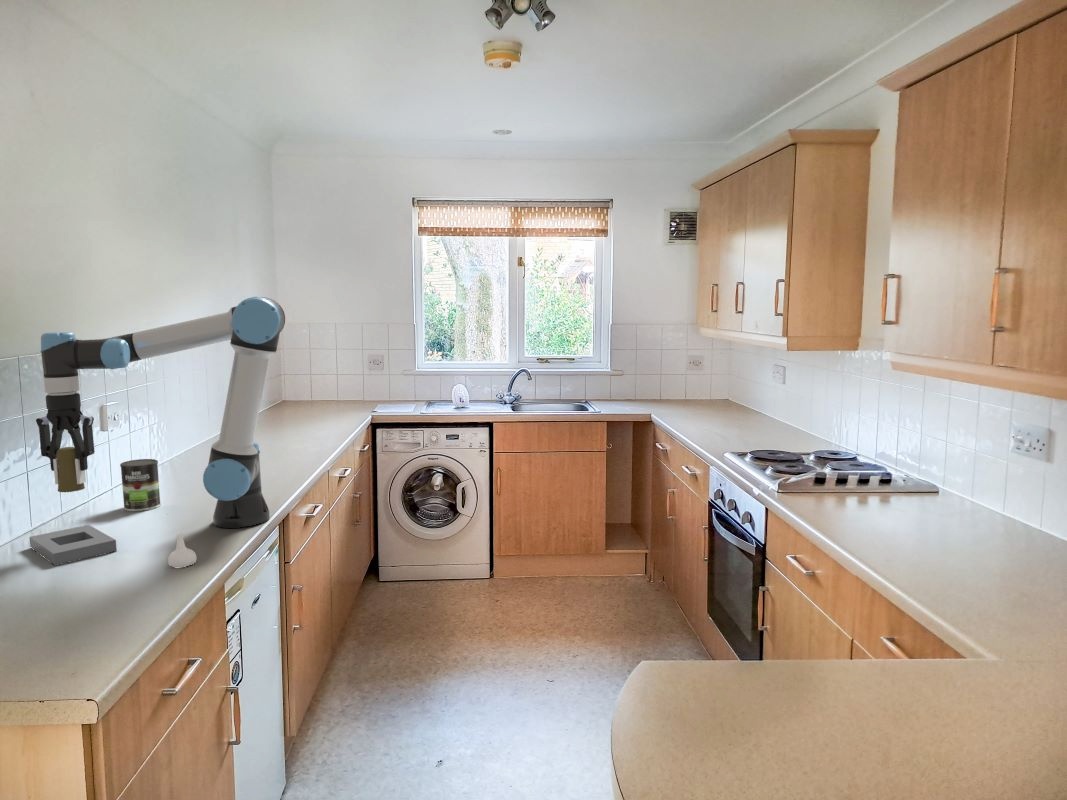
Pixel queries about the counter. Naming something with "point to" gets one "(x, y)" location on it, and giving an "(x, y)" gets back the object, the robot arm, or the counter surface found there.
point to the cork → (68, 470)
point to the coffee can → (140, 484)
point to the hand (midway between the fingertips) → (70, 482)
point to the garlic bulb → (181, 554)
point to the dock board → (72, 544)
